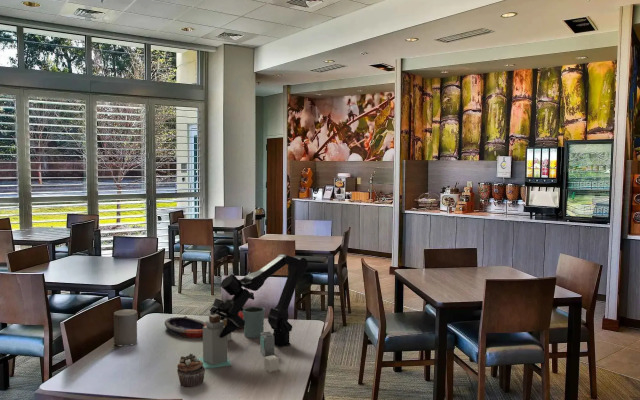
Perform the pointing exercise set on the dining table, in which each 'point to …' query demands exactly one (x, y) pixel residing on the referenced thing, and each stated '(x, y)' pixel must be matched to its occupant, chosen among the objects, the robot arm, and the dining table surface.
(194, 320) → the inflatable boat
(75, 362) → the dining table surface
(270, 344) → the napkin dispenser
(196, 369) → the cupcake
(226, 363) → the teal tile
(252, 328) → the drinking glass
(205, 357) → the perfume bottle
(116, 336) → the pillar candle
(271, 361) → the grey block
